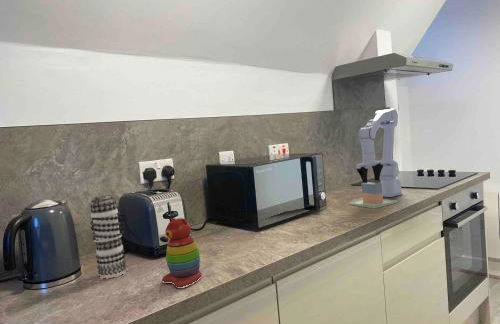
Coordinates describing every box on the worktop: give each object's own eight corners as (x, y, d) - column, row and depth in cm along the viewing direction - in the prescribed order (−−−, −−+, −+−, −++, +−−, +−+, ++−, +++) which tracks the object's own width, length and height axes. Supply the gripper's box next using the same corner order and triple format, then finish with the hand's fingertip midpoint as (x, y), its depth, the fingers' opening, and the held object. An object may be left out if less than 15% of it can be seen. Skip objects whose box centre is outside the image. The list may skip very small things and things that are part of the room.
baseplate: (372, 198, 188) (372, 197, 188) (398, 202, 174) (397, 200, 173) (349, 204, 181) (349, 202, 181) (373, 208, 167) (373, 206, 167)
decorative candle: (133, 271, 119) (122, 194, 117) (104, 282, 113) (92, 200, 111) (121, 266, 125) (110, 193, 124) (93, 276, 119) (81, 198, 117)
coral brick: (369, 200, 182) (368, 191, 182) (383, 202, 174) (382, 192, 174) (363, 201, 181) (362, 192, 180) (376, 204, 173) (376, 194, 172)
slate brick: (368, 191, 182) (367, 182, 182) (382, 192, 174) (381, 183, 174) (362, 192, 180) (361, 183, 180) (376, 194, 172) (375, 184, 172)
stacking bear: (159, 282, 107) (151, 221, 106) (188, 270, 114) (181, 213, 113) (180, 290, 99) (172, 224, 98) (210, 277, 106) (202, 215, 105)
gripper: (373, 151, 183) (376, 178, 183) (350, 155, 176) (353, 183, 177) (384, 151, 176) (387, 179, 177) (361, 154, 170) (364, 184, 171)
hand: (371, 181), depth 177 cm, fingers open, 7 cm apart
